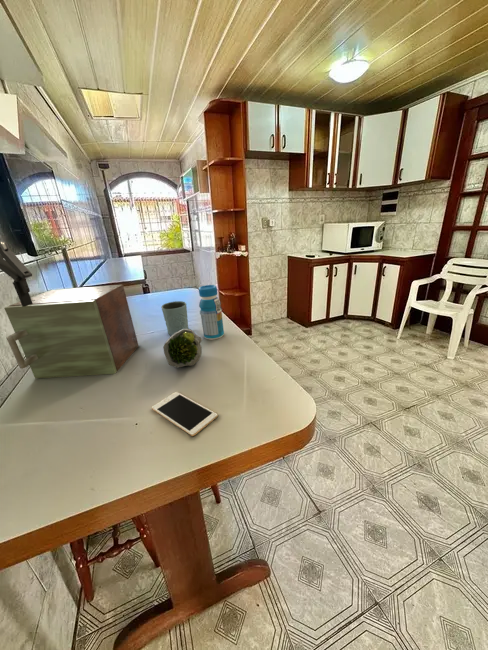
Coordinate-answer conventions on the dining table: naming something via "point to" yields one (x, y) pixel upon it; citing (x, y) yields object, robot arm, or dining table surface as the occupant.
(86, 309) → the cupboard door
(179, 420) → the cell phone
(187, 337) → the potted plant
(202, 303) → the beverage bottle
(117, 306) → the cupboard
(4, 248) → the robot arm
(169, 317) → the grey green cup
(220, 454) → the dining table surface
